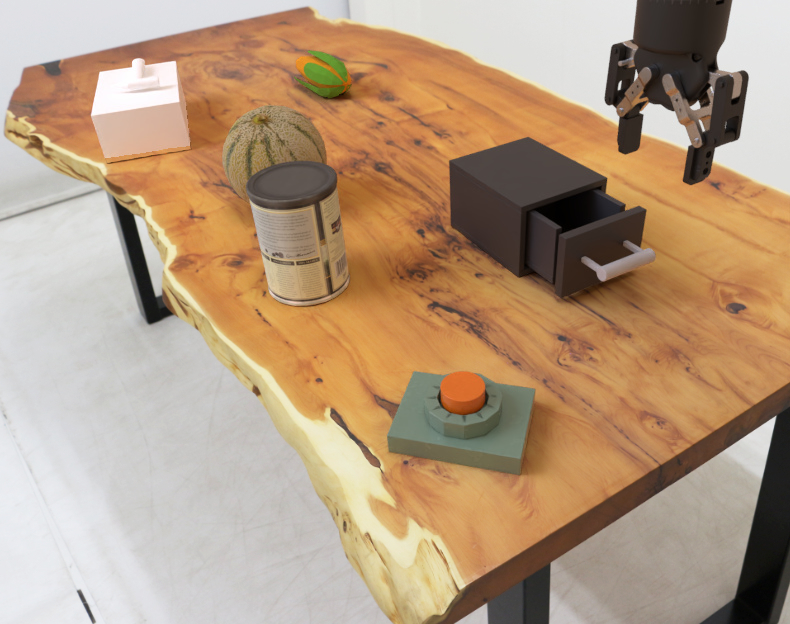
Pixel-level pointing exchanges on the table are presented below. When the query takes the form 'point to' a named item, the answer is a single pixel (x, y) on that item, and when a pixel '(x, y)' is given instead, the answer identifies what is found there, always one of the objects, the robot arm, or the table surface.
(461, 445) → the control block
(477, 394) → the button
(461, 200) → the small drawer cabinet
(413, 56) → the table surface
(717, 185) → the table surface
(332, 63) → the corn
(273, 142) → the cantaloupe
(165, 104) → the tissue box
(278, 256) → the coffee can
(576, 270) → the dark drawer
